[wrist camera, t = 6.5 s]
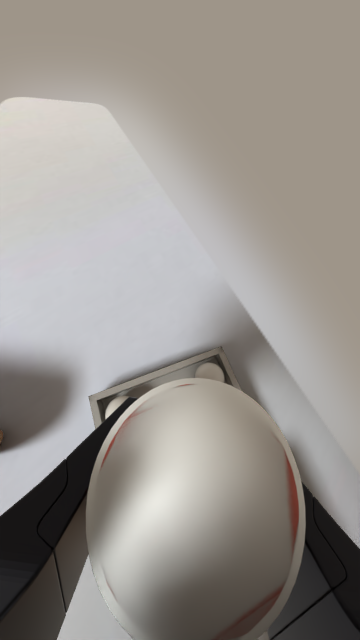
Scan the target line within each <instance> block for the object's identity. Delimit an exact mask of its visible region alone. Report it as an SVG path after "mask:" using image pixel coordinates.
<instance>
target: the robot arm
mask: <svg viewBox="0 0 360 640" xmlns="http://www.w3.org/2000/svg"><path fill="white" fill-rule="evenodd" d="M137 399H138V398H136V397H128V398H127V399H126V400H125V401H124V402H123V403H122V404H121V405H120V406H119V407H118V408H117V409H116V410H115V411H114V412H113V413H112V414H111V415H110V416H109V417H108V418H107V419H106V420H105V421H104V422H102V423H101V424H100V425H99V426H98V427H97V428H96V429H95V430H94V431H93V432H92V433H91V434H90V435H89V436H88V437H87V438H86V439H85V440H84V441H83V442H82V443H81V444H80V445H79V446H78V447H77V448H76V449H75V450H74V451H73V452H72V453H71V454H70V455H69V456H68V457H67V458H66V459H64V460H63V461H62V462H61V463H60V464H59V465H58V466H57V467H56V468H55V469H54V470H53V471H52V472H51V473H50V474H49V475H48V476H47V477H46V478H44V479H43V480H42V481H41V482H40V483H39V484H38V485H37V486H35V487H34V488H33V489H32V490H31V491H30V492H29V493H27V494H26V495H25V496H24V497H23V498H21V499H20V500H19V501H18V502H17V503H15V504H14V505H13V506H12V507H11V508H9V509H8V510H7V511H6V512H5V513H3V514H2V515H1V516H0V640H57V637H58V635H59V632H60V629H61V627H62V624H63V621H64V618H65V616H66V612H67V610H68V608H69V605H70V602H71V599H72V597H73V594H74V591H75V589H76V586H77V583H78V581H79V578H80V575H81V573H82V570H83V567H84V565H85V562H86V559H87V557H88V554H89V553H88V546H87V537H86V504H87V494H88V489H89V484H90V479H91V474H92V471H93V468H94V465H95V462H96V459H97V456H98V454H99V451H100V449H101V447H102V445H103V442H104V441H105V439H106V437H107V435H108V434H109V432H110V430H111V428H112V427H113V426H114V424H115V423H116V422H117V420H118V419H119V417H120V416H121V415H122V414H123V413H124V412H125V411H126V410H127V409H128V408H129V406H130V405H132V404H133V403H134V402H135V401H136V400H137ZM301 483H302V487H303V494H304V501H305V518H306V528H305V542H304V549H303V554H302V560H301V565H300V568H299V571H298V575H297V578H296V582H295V584H294V586H293V589H292V591H291V593H290V596H289V598H288V600H287V602H286V603H285V605H284V607H283V609H282V610H281V612H280V614H279V615H278V617H277V618H276V619H275V621H274V622H273V623H272V624H271V626H270V627H269V628H268V629H267V632H268V637H269V640H360V549H359V548H358V546H357V545H356V544H355V543H354V542H353V541H352V540H351V539H350V538H349V536H348V535H347V534H346V533H345V532H344V531H343V530H342V529H341V528H340V526H339V525H338V524H337V523H336V522H335V521H334V519H333V518H332V517H331V516H330V515H329V514H328V512H327V511H326V510H325V509H324V508H323V507H322V505H321V504H320V503H319V502H318V500H317V499H316V498H315V497H313V495H312V493H311V492H310V491H309V490H308V488H307V487H306V486H305V485H304V484H303V482H302V481H301Z"/></svg>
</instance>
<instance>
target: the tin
mask: <svg viewBox="0 0 360 640" xmlns="http://www.w3.org/2000/svg"><path fill="white" fill-rule="evenodd" d="M2 439H3V432H2V431H1V430H0V444H1V441H2Z"/></svg>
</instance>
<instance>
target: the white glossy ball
mask: <svg viewBox="0 0 360 640" xmlns="http://www.w3.org/2000/svg"><path fill="white" fill-rule="evenodd" d="M195 378H204V379H211V380H216V381H220V382H223V383H224V373H223V371H222V369H221V368H220V367H219V366H218V365H216V364H214V363H204V364H202V365H200V366H199V367H198V369H197V370H196V373H195Z"/></svg>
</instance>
